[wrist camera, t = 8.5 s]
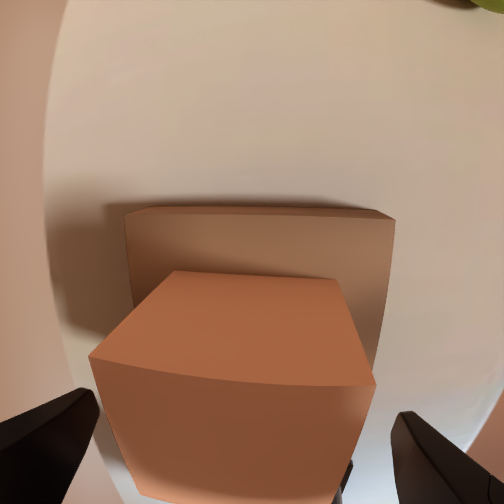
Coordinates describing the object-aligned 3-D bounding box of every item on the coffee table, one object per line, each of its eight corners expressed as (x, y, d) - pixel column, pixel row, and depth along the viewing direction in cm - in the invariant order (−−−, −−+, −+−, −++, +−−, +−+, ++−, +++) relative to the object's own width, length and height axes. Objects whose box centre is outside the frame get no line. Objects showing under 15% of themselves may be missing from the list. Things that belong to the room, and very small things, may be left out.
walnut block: (348, 390, 16) (356, 427, 13) (173, 380, 17) (155, 414, 14) (373, 208, 13) (395, 219, 10) (154, 205, 14) (123, 215, 11)
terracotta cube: (317, 403, 13) (324, 517, 7) (185, 392, 13) (140, 494, 8) (336, 279, 11) (376, 385, 5) (174, 270, 12) (88, 355, 6)
